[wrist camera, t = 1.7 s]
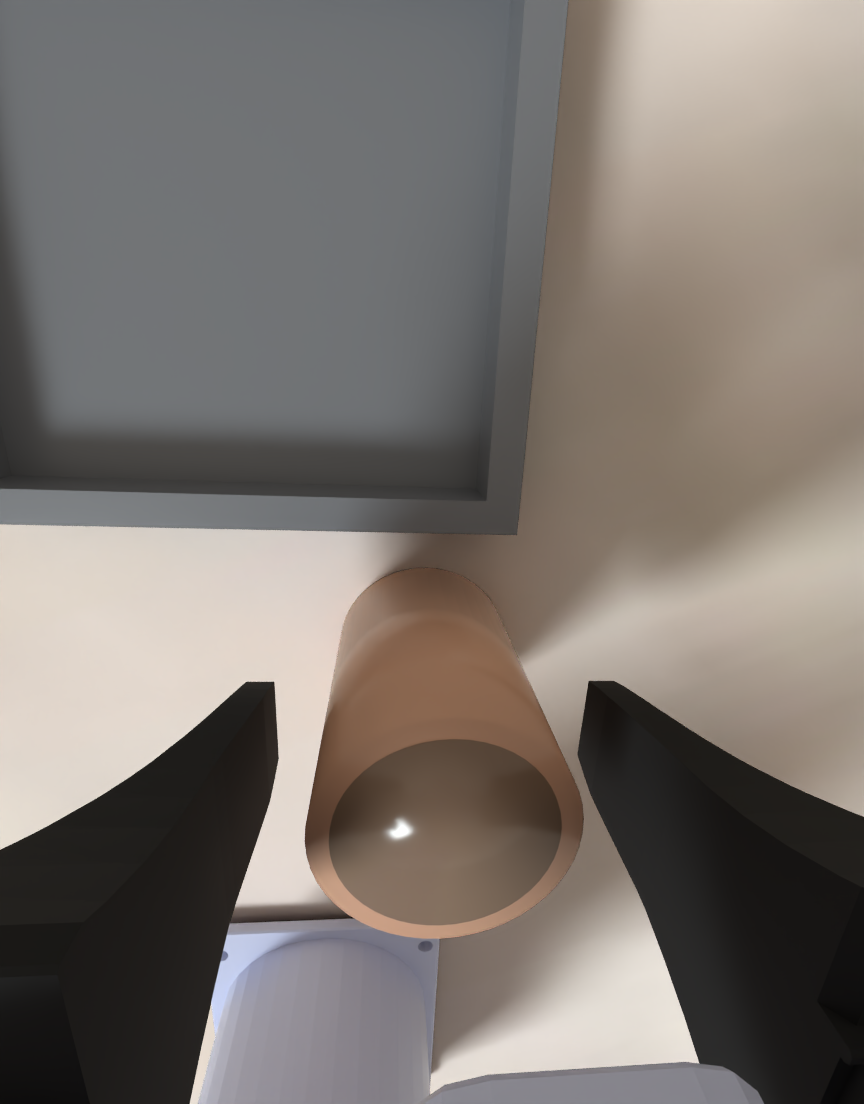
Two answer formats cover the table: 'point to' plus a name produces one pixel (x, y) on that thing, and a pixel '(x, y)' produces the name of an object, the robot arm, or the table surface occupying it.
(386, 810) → the terracotta cup
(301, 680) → the table surface
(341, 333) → the charcoal tray
